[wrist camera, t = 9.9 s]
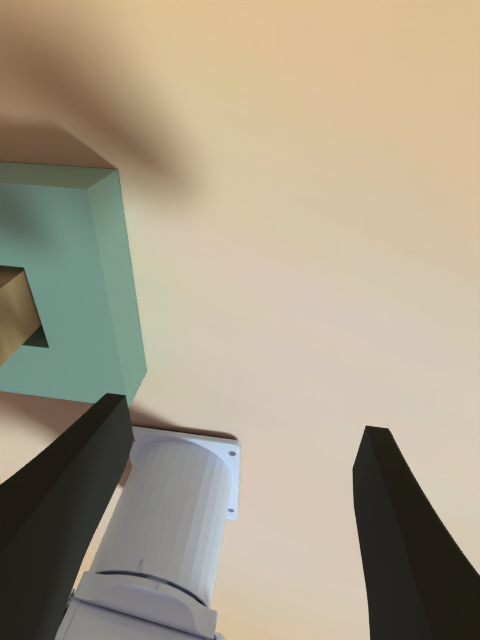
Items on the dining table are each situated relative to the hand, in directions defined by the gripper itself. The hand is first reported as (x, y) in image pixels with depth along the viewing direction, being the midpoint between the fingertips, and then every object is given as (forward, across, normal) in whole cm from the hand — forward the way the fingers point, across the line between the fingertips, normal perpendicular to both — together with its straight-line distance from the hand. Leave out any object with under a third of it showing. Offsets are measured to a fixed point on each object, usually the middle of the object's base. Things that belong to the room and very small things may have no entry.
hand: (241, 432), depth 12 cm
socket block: (+9, +13, +1) cm, 16 cm away
